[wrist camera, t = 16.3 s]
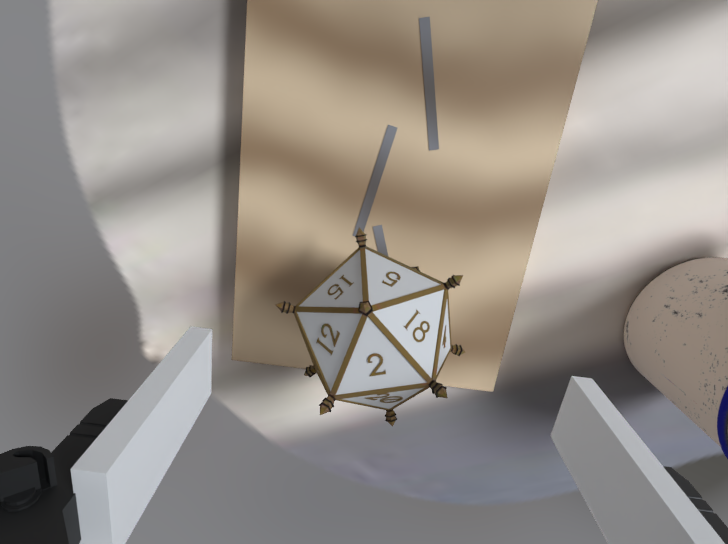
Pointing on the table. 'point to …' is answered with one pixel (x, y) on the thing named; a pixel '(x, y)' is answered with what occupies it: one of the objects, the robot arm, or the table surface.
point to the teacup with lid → (686, 341)
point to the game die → (376, 331)
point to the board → (399, 156)
